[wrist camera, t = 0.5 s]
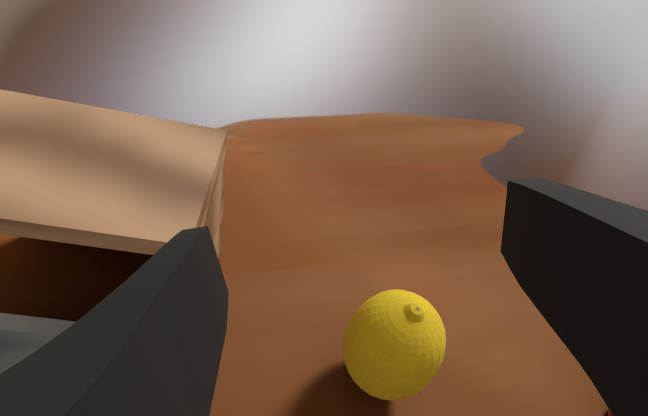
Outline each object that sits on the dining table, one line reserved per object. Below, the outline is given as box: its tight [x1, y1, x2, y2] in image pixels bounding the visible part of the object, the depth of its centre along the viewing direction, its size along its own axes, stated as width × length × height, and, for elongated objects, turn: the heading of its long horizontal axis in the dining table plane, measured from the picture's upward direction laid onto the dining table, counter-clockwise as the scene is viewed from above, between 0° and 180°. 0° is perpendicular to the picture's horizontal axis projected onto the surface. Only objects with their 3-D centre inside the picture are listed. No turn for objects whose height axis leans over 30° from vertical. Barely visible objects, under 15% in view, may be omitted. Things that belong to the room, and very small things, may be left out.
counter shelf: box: [0, 90, 227, 260], centre depth 23 cm, size 8×12×11 cm
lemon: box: [343, 290, 446, 400], centre depth 24 cm, size 6×6×8 cm
